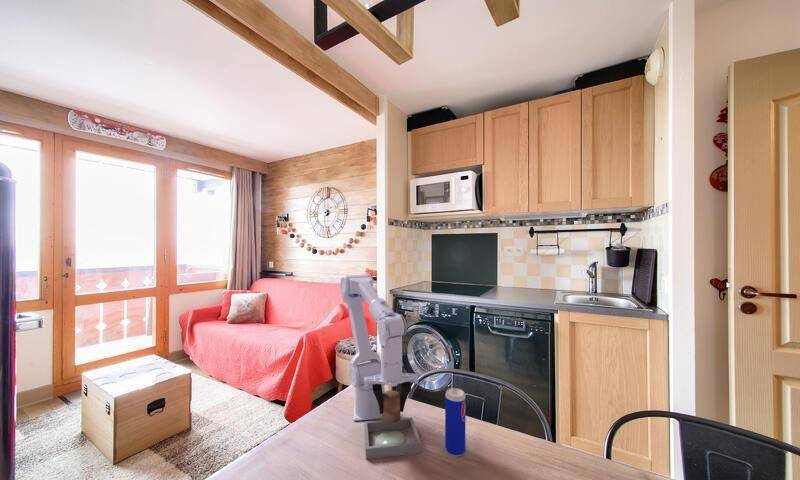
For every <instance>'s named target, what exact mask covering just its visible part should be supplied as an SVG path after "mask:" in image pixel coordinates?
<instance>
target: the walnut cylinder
mask: <svg viewBox="0 0 800 480" xmlns="http://www.w3.org/2000/svg"><path fill="white" fill-rule="evenodd" d="M382 408H383V414H382V419H381V420H383V421H384V422H387V423H396V422H398V421H399V420H400V418H401V411H400V410H401V395H400V391H396V390H392V389H391V390H386V391H385V392H384V393H383V394H382Z"/></svg>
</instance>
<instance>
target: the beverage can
mask: <svg viewBox="0 0 800 480" xmlns="http://www.w3.org/2000/svg"><path fill="white" fill-rule="evenodd" d="M444 396H445V401H444V403H445V405H444V414H445V415H444V416H445V421H444V422H445V426H444V428H445V429H444V433H445V434H444V435H445V436H444V445H445V446H444V448H445V451H446V452H447V453H448V454H449V456H452V457H455V458H457V457H458V458H459V457H461V456H463V455H464V454H465V453H466V419H467V418H466V417H467V416H466V401H467V397H466V394H465V391H464V390H462V389H461V388H457V387H451V388H448V389H447V390H446V392H445V395H444Z"/></svg>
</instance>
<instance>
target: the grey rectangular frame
mask: <svg viewBox="0 0 800 480" xmlns="http://www.w3.org/2000/svg"><path fill="white" fill-rule="evenodd" d="M415 424H416V423H415V422H414V418H413V417H412V416H411V417H400V420H399V421H398V422H396V423H387V422H384V421H383V419H377V420H366V421H364V425H363V427H364V428H363V430H364V431H363V432H364V445H365V447H364V448H365V449H364V450H365V451H364V452H365V460H371V459H377V458H378V459H380V458H387V457H388V458H389V457H395V456H397V457H398V456H405V455H414V454H415V455H416V454H421V453H422V443H421V439H420V436H419V432H418V430H417V427H416V425H415ZM402 429H410V432H411V435H412V439H413V441H407V442H406V441H405V443H396V444H387V445H378V444H377V445H371V446H370V443H369V442H370V441H369V433H372V432H384V431H391V430H392V431H394V430H402Z"/></svg>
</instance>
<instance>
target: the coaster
mask: <svg viewBox="0 0 800 480" xmlns="http://www.w3.org/2000/svg"><path fill="white" fill-rule="evenodd" d="M396 443H406V437H405V436H404V435H403V433H401V432H399V431H398V430H384V431H382V432H381V433H380V434H379V435H378V436H377V438H376V444H377V446H378V445H387V444H396Z"/></svg>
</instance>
